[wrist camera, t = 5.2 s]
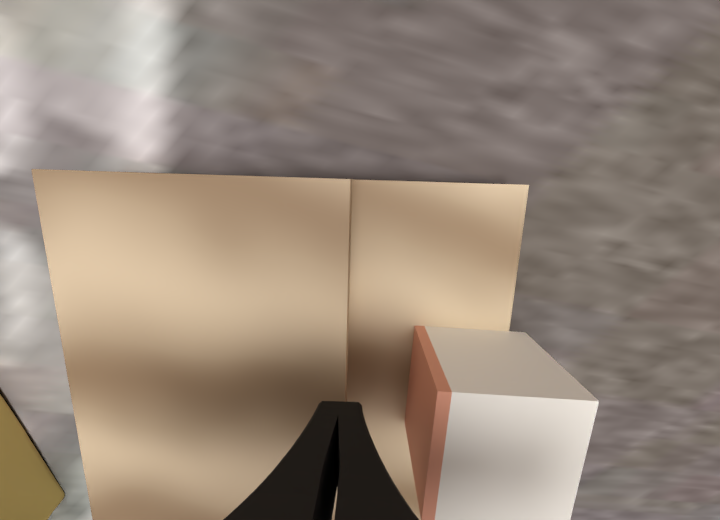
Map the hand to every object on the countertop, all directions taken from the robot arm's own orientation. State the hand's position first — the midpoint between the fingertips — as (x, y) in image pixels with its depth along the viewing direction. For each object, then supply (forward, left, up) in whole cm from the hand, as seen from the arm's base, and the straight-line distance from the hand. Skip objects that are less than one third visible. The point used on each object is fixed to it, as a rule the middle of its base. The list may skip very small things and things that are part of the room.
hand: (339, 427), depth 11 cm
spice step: (0, +2, -5) cm, 6 cm away
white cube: (0, -3, -1) cm, 3 cm away
